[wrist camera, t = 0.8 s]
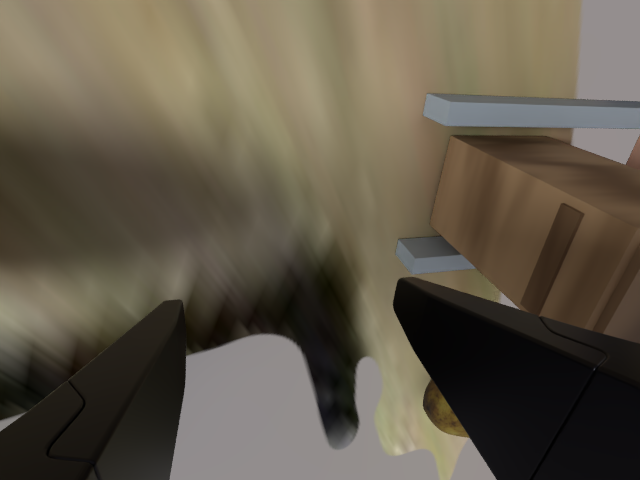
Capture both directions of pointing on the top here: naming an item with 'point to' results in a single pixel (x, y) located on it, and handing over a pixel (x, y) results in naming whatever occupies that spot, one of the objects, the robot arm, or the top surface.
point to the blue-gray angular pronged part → (509, 113)
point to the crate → (547, 227)
